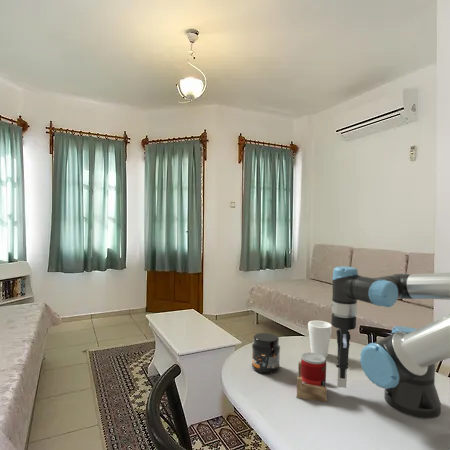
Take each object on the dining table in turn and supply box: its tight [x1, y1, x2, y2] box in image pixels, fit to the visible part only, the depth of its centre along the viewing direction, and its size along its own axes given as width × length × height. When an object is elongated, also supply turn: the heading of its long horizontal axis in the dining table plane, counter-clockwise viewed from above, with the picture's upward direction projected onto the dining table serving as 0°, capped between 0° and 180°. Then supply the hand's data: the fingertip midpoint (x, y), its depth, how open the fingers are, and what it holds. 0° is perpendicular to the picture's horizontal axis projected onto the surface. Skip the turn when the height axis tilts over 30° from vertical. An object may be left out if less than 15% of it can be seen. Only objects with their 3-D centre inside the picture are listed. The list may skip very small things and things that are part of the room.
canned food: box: [300, 352, 327, 388], centre depth 109 cm, size 8×8×11 cm
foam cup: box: [307, 320, 333, 358], centre depth 136 cm, size 10×9×13 cm
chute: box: [296, 361, 327, 403], centre depth 109 cm, size 9×13×6 cm
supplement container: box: [251, 332, 281, 375], centre depth 124 cm, size 10×10×12 cm
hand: (341, 386), depth 107 cm, fingers closed
